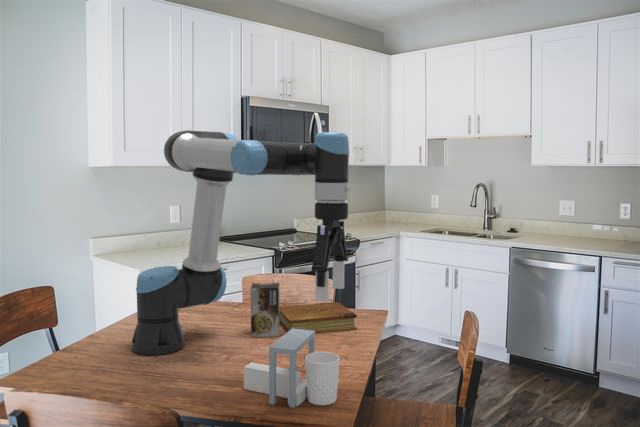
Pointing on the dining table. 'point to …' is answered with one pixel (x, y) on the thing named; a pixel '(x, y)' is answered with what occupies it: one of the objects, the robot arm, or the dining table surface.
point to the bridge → (289, 346)
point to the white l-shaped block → (259, 381)
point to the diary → (317, 317)
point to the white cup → (322, 377)
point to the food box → (265, 310)
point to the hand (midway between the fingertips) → (330, 294)
